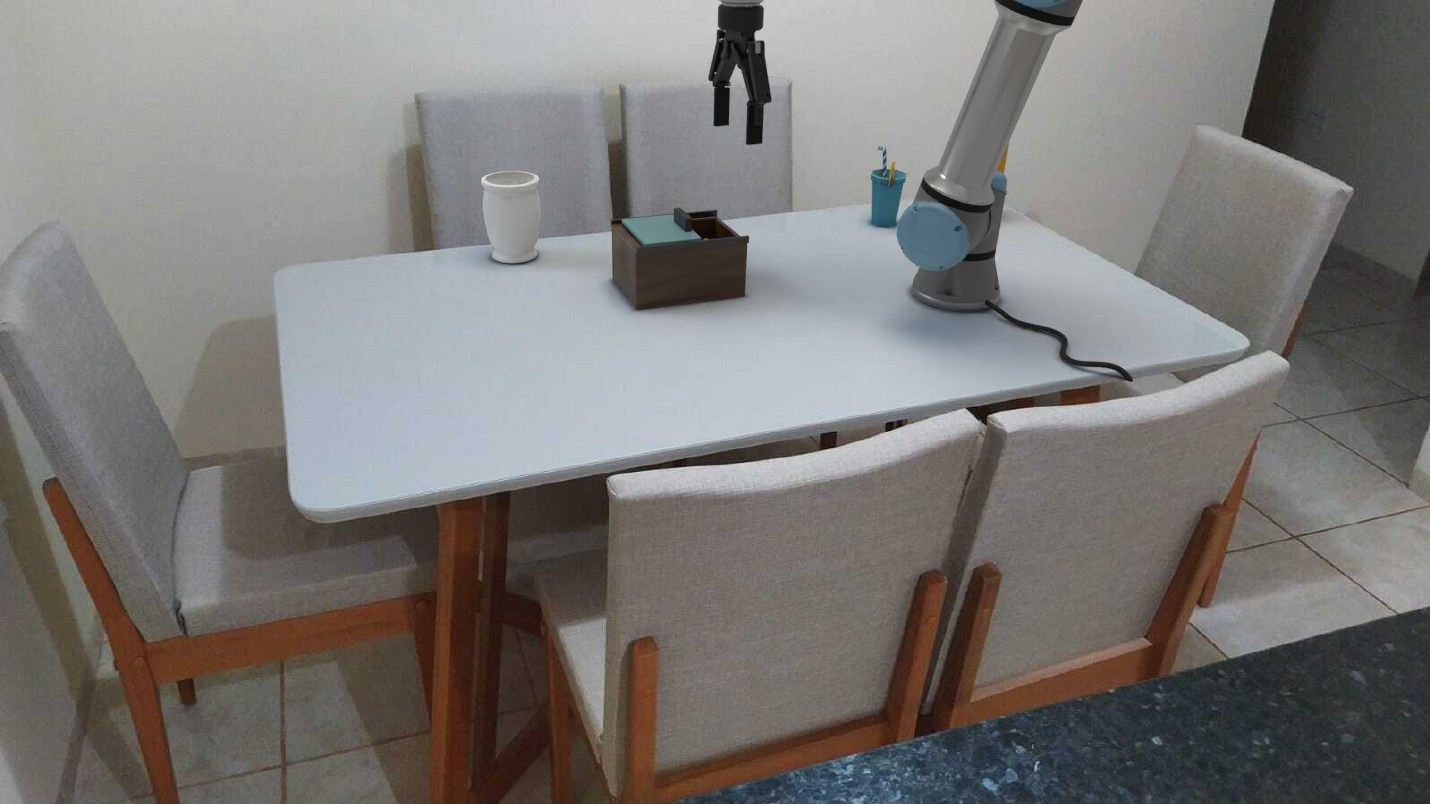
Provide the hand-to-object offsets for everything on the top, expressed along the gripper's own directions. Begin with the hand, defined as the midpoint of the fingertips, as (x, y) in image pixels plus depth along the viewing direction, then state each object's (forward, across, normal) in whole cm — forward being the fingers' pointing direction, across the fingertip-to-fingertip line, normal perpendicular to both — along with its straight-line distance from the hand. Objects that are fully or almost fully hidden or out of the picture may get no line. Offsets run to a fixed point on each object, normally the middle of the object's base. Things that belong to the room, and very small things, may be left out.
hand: (737, 134), depth 181 cm
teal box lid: (+15, -3, +15) cm, 21 cm away
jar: (+25, +22, +35) cm, 49 cm away
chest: (+26, -3, +12) cm, 28 cm away
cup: (+26, +18, -43) cm, 53 cm away
